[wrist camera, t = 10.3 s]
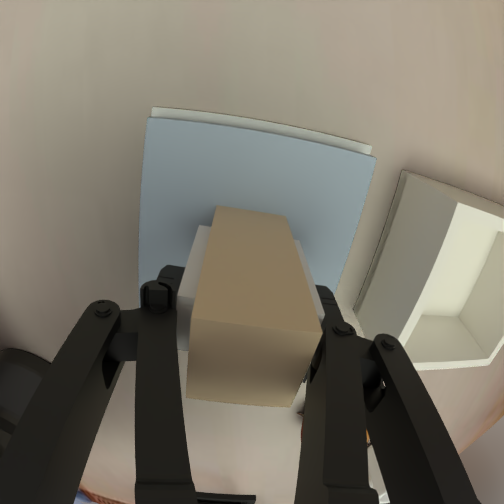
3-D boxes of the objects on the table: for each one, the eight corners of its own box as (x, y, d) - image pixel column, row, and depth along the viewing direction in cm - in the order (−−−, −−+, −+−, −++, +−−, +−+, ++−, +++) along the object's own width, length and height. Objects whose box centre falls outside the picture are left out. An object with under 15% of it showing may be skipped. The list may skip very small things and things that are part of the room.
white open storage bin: (353, 309, 25) (379, 371, 19) (402, 169, 20) (458, 202, 14) (455, 317, 27) (488, 365, 20) (504, 206, 21) (556, 240, 15)
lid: (142, 303, 22) (95, 429, 12) (152, 116, 16) (43, 148, 7) (316, 326, 24) (349, 453, 14) (370, 155, 18) (487, 225, 8)
